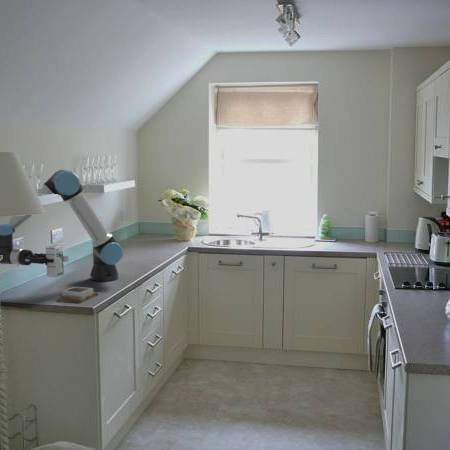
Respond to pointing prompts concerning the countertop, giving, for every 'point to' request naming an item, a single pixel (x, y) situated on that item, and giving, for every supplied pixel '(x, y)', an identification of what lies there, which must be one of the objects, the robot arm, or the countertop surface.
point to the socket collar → (77, 292)
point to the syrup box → (55, 269)
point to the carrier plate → (76, 300)
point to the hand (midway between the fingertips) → (64, 259)
